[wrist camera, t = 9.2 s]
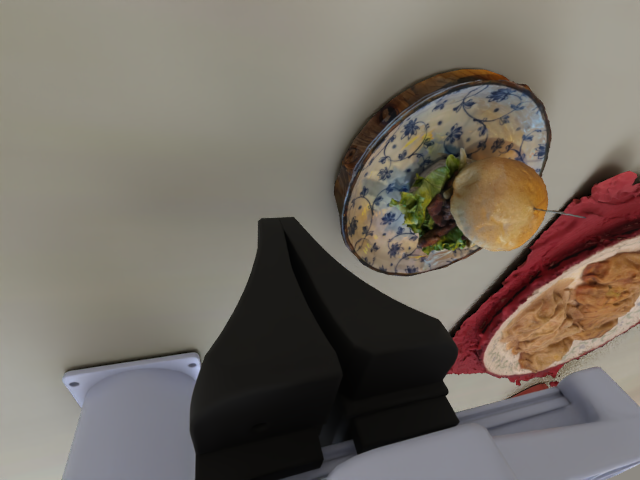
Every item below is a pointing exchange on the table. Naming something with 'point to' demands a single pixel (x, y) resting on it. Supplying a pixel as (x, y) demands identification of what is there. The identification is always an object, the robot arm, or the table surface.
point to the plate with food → (562, 291)
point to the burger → (445, 174)
